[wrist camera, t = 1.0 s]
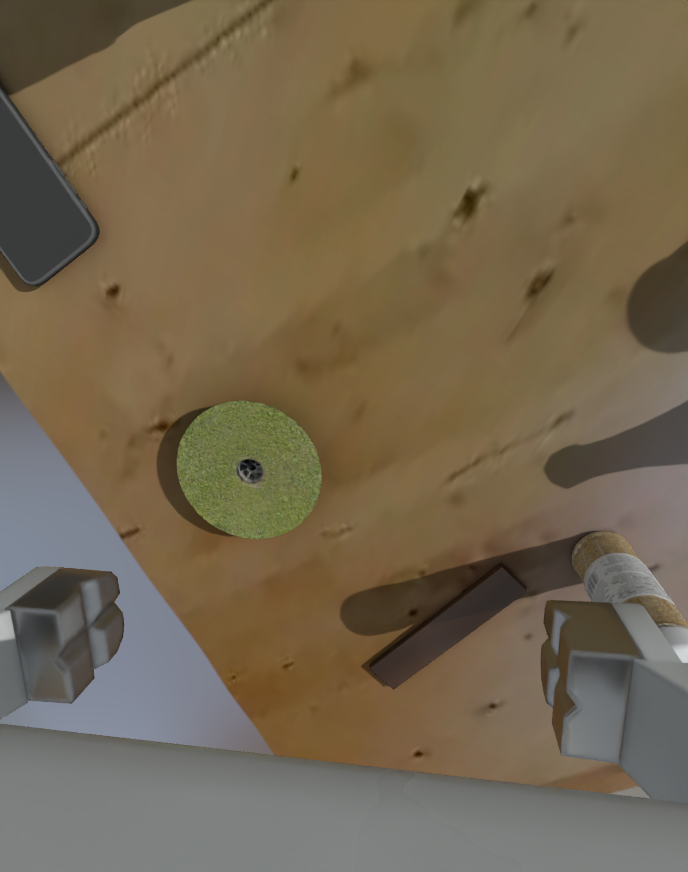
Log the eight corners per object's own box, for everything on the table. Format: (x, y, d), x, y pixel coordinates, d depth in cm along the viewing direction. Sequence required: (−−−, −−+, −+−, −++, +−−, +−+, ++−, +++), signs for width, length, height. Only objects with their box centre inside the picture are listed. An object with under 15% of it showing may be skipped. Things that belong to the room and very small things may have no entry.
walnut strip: (369, 664, 48) (369, 669, 47) (500, 562, 43) (502, 566, 43) (393, 685, 48) (393, 690, 48) (526, 586, 44) (527, 591, 43)
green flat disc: (263, 552, 46) (257, 565, 44) (158, 463, 44) (147, 472, 42) (355, 464, 42) (352, 474, 40) (245, 364, 41) (237, 369, 39)
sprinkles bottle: (616, 586, 43) (704, 725, 30) (560, 570, 43) (623, 703, 30) (641, 537, 41) (744, 662, 29) (582, 520, 42) (659, 638, 29)
